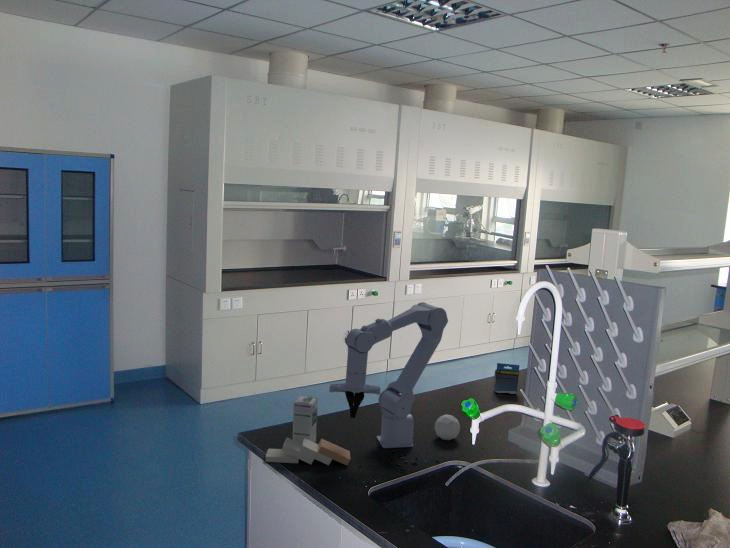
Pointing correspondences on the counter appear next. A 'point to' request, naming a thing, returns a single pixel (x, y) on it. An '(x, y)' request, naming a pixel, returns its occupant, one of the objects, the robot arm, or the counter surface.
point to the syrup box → (305, 419)
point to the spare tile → (334, 452)
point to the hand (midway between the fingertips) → (352, 416)
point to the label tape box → (506, 377)
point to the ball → (447, 427)
